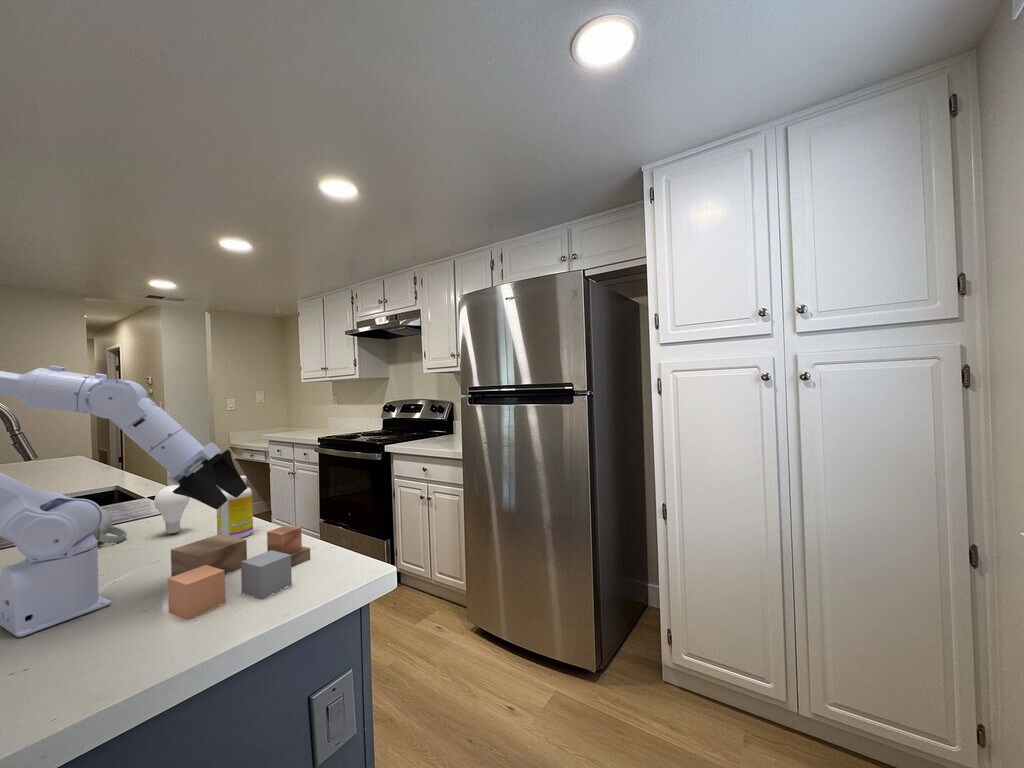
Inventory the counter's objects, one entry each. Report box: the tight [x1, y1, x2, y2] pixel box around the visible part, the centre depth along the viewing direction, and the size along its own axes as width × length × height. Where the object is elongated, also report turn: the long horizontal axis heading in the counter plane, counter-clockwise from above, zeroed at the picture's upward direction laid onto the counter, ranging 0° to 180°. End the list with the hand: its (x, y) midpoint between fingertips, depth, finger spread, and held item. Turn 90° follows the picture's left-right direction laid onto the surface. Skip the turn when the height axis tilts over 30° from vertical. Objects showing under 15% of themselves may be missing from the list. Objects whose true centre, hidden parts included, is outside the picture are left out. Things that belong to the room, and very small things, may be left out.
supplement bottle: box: [216, 475, 254, 539], centre depth 93 cm, size 7×7×13 cm
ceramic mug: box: [94, 507, 128, 544], centre depth 90 cm, size 11×8×8 cm
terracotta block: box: [167, 565, 226, 621], centre depth 62 cm, size 5×5×5 cm
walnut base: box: [170, 534, 248, 577], centre depth 75 cm, size 8×8×5 cm
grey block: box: [240, 550, 293, 600], centre depth 68 cm, size 5×5×5 cm
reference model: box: [261, 524, 311, 567], centre depth 78 cm, size 6×6×6 cm
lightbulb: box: [153, 484, 191, 535], centre depth 95 cm, size 6×6×11 cm
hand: (231, 499), depth 71 cm, fingers open, 7 cm apart
